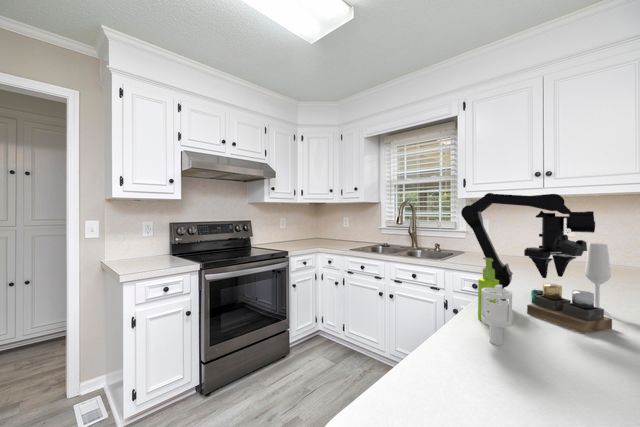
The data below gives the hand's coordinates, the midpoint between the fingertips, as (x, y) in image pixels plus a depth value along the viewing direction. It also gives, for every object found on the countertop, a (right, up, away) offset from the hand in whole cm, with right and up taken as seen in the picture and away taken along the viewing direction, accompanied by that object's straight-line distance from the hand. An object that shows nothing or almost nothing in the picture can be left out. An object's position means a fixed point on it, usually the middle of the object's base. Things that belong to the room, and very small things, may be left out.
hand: (552, 277), depth 98 cm
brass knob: (0, -7, 0) cm, 7 cm away
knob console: (+1, -13, -4) cm, 14 cm away
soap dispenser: (-24, -13, -3) cm, 27 cm away
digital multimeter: (+10, -14, +17) cm, 24 cm away
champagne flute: (+19, -13, +4) cm, 24 cm away
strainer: (-31, -13, -20) cm, 39 cm away
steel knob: (+2, -7, -9) cm, 11 cm away
